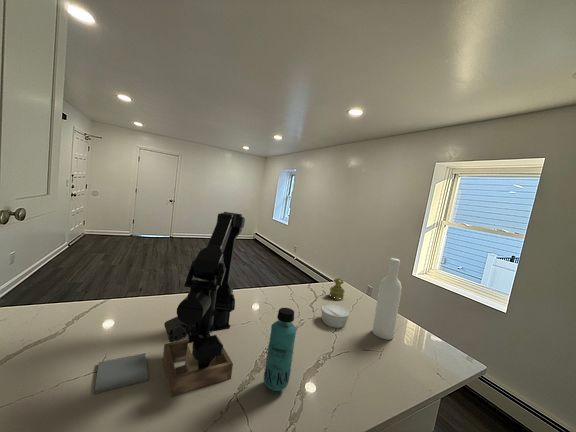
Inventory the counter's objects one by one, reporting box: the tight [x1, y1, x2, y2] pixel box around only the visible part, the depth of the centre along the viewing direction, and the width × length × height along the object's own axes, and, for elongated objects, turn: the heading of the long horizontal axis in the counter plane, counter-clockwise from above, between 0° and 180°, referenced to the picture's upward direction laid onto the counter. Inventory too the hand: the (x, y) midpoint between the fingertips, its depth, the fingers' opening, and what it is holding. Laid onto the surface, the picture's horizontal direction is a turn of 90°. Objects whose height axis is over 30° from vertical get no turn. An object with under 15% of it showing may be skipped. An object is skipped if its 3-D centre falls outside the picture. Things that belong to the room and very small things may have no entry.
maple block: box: [184, 342, 198, 373], centre depth 65 cm, size 4×4×6 cm
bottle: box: [372, 257, 403, 341], centre depth 97 cm, size 8×8×30 cm
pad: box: [94, 352, 149, 394], centre depth 60 cm, size 10×10×1 cm
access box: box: [162, 334, 234, 397], centre depth 65 cm, size 14×14×4 cm
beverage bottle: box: [263, 307, 297, 392], centre depth 62 cm, size 6×7×20 cm
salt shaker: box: [329, 278, 346, 301], centre depth 130 cm, size 7×7×10 cm
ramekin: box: [321, 303, 350, 329], centre depth 102 cm, size 11×11×5 cm
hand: (196, 363), depth 65 cm, fingers open, 9 cm apart
